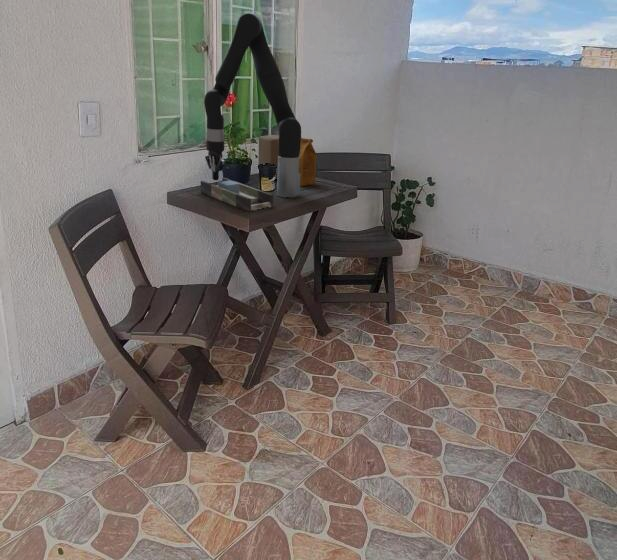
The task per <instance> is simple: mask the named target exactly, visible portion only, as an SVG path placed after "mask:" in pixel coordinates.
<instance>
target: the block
mask: <svg viewBox="0 0 617 560" xmlns="http://www.w3.org/2000/svg"><path fill="white" fill-rule="evenodd" d="M278 148H279V135H275V134H269V135H261V136H259V137H258V162H257V163H258V164H264V163H270V164H276V165H277V172H278ZM276 179H277V174H276Z"/></svg>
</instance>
